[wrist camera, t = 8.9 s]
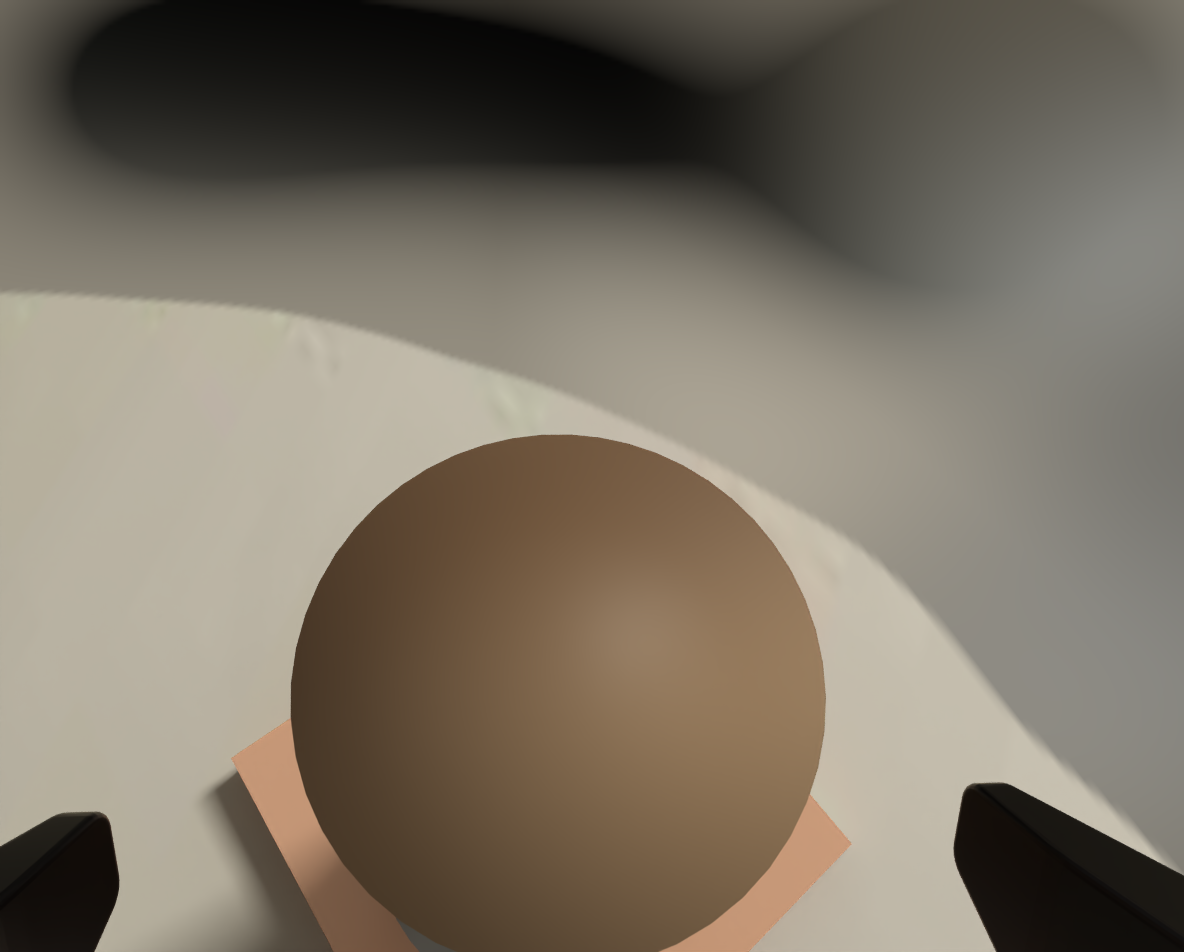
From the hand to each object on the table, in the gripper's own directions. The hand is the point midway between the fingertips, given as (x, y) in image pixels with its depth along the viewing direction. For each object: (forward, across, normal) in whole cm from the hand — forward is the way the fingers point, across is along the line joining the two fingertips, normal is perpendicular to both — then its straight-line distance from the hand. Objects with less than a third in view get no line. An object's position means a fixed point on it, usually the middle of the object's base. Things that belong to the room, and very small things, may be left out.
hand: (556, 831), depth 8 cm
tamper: (+8, 0, +6) cm, 10 cm away
